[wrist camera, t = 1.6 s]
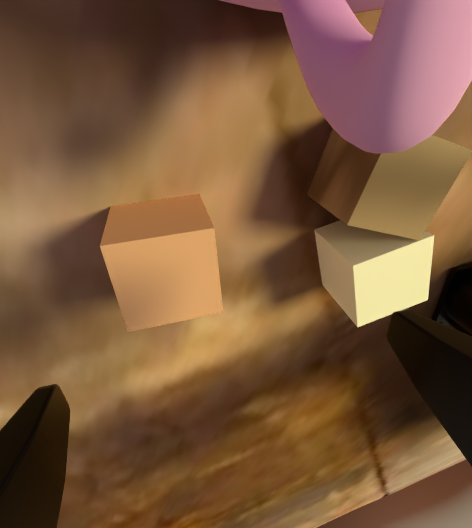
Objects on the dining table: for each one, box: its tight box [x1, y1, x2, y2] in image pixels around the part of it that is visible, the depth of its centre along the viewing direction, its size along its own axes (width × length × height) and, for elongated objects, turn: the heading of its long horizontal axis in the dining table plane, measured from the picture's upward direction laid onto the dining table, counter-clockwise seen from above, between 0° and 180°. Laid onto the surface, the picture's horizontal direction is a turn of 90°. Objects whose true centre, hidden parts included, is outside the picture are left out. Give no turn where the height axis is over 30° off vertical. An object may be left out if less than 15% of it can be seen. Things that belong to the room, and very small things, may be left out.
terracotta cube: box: [100, 194, 223, 332], centre depth 17 cm, size 5×5×5 cm
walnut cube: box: [306, 129, 472, 240], centre depth 18 cm, size 5×5×5 cm
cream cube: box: [314, 220, 434, 327], centre depth 21 cm, size 5×5×5 cm
